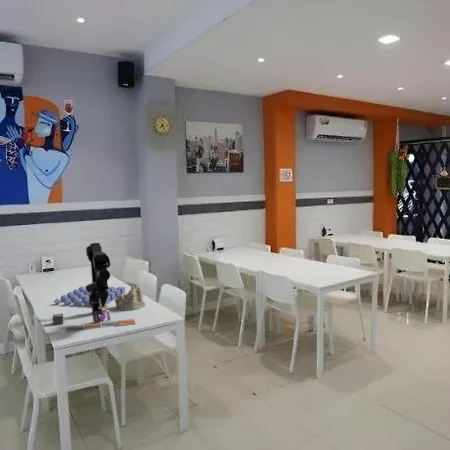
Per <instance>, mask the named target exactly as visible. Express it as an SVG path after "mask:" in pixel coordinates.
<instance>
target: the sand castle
mask: <svg viewBox="0 0 450 450" xmlns="http://www.w3.org/2000/svg"><path fill="white" fill-rule="evenodd" d="M114 302H115V310H118V311H124V312H125V311H128V312H130V311H131V312H133V311H137V310H140V309H142V308H144V307H146V302H145V301H144V296H143V294H142V289H141V286H137V289H135V287H134V285H131V286H130V290H129V291H128V292H125V294H123V295H122V294H120V295H119V296H117V297H116V299H115V300H114Z"/></svg>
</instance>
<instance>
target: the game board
mask: <svg viewBox="0 0 450 450" xmlns="http://www.w3.org/2000/svg"><path fill="white" fill-rule="evenodd" d="M130 325H131V326H132V325H136V321H135V318H128V319H121V320H113V321H112V320H110V321H103V322H100V323H94V322H93V323H87V324H79V325H69V326H66V327H65V328H66V330H65V332H66V333H68V332H78V331H84V330H85V331H86V330H95V329H101V328H111V327H114V328H116V327H123V326H130Z"/></svg>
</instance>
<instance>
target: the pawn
mask: <svg viewBox="0 0 450 450" xmlns="http://www.w3.org/2000/svg"><path fill="white" fill-rule="evenodd" d="M99 303H100V306H99V309H102V310H107V309H108V307H109V306H108V304H106V303H105V306H104V307H102V304H101V301H100V298H99Z"/></svg>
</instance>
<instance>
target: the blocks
mask: <svg viewBox="0 0 450 450" xmlns="http://www.w3.org/2000/svg"><path fill="white" fill-rule="evenodd" d="M85 287H86V286H80V287H79V288H76V289H74V290H73V291H69V292H67V293H66V294H62V295H61V296H60V299H58V298H56V299H55V300H54V301H53V303H54V304H55V305H57V306H59V305H60V303H61V302H62V303H63V304H64V305H65V306H66V305H68V306H70V305H71V304H72V303H73V304H72V305H73V306H74V307H81V306H83V307H84V308H90V307H91V308H92V305H90V304H89V295H90V292H89V293H88V292H87V290H86V288H85ZM107 290H108V293H109V296H108V298H107V300H106V304H107V305H108V304H110V303H111V302H113V301H115V299H116V297H117V296H119V295H120V294H122V296H123V295H124V293H125V294H126V286H117V287H115V286H108V289H107ZM91 302H92V301H91Z"/></svg>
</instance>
